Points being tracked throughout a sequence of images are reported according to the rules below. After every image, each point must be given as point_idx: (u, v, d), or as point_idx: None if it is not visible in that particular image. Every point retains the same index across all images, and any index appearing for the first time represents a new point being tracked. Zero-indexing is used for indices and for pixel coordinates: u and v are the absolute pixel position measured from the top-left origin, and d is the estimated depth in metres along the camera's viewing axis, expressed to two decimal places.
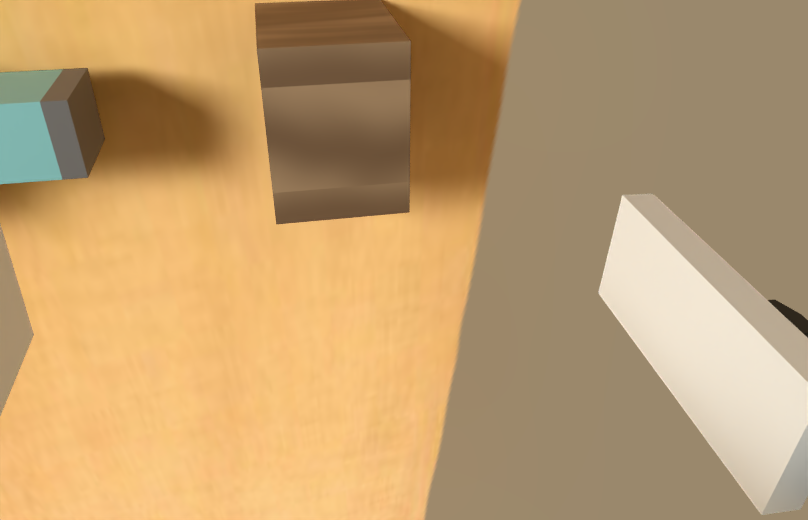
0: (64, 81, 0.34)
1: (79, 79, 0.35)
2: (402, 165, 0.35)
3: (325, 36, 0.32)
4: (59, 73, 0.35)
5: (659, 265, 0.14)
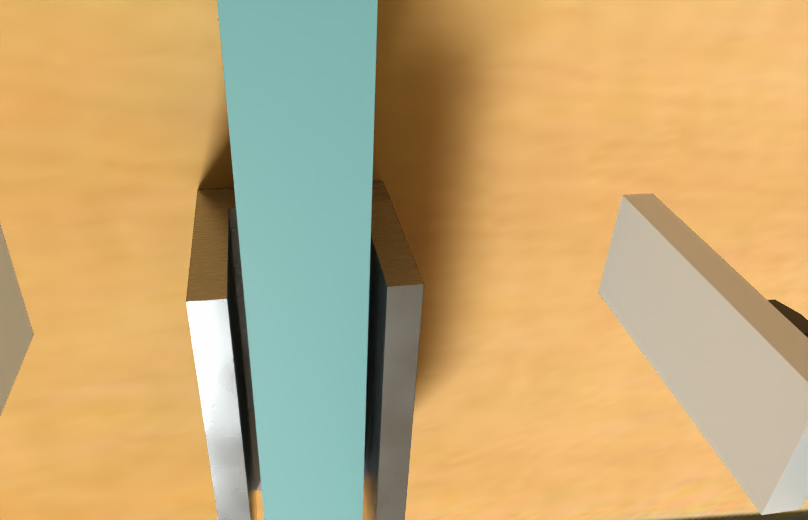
0: None
1: None
2: None
3: None
4: None
5: (659, 265, 0.14)
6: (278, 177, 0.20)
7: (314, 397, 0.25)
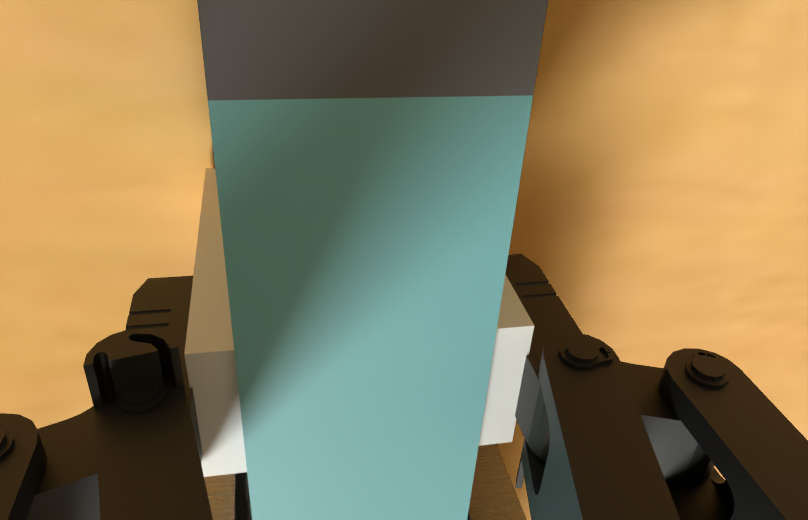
0: None
1: None
2: None
3: None
4: None
5: None
6: (322, 449, 0.11)
7: None
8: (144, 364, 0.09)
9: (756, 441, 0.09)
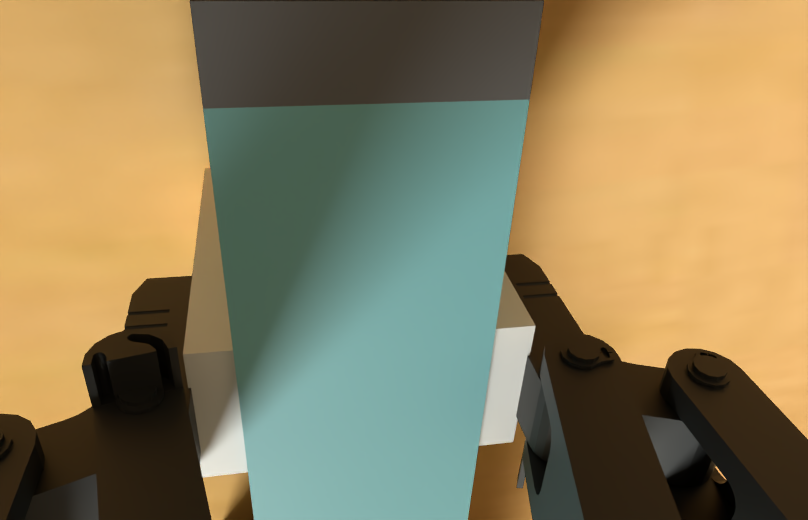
0: None
1: None
2: None
3: None
4: None
5: None
6: (323, 450, 0.11)
7: None
8: (143, 364, 0.09)
9: (757, 441, 0.09)
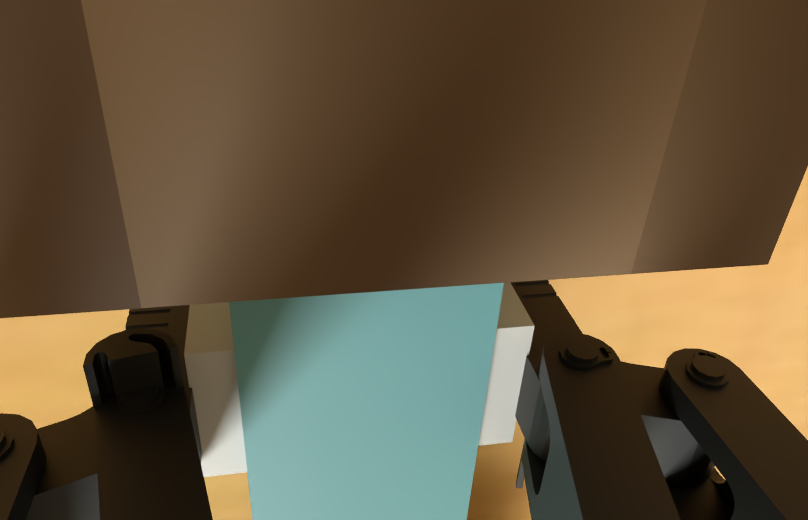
0: None
1: None
2: None
3: None
4: None
5: None
6: (322, 450, 0.12)
7: None
8: (144, 364, 0.09)
9: (756, 441, 0.09)
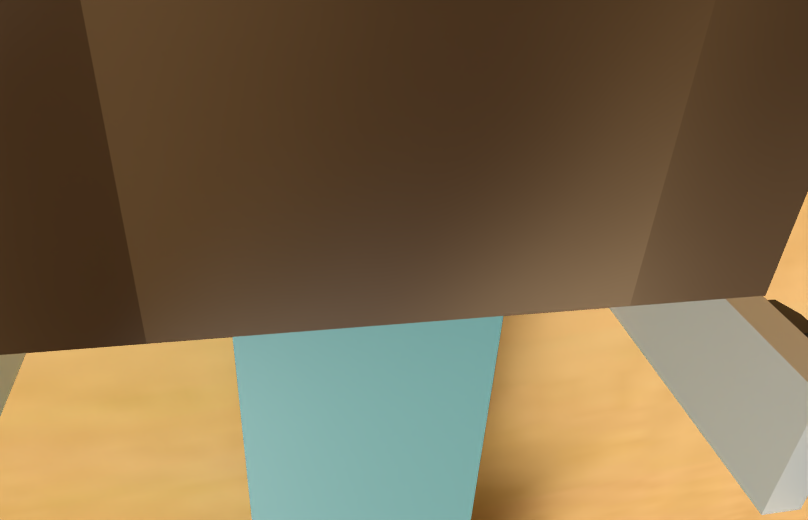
0: None
1: None
2: None
3: None
4: None
5: None
6: (324, 467, 0.11)
7: None
8: None
9: None
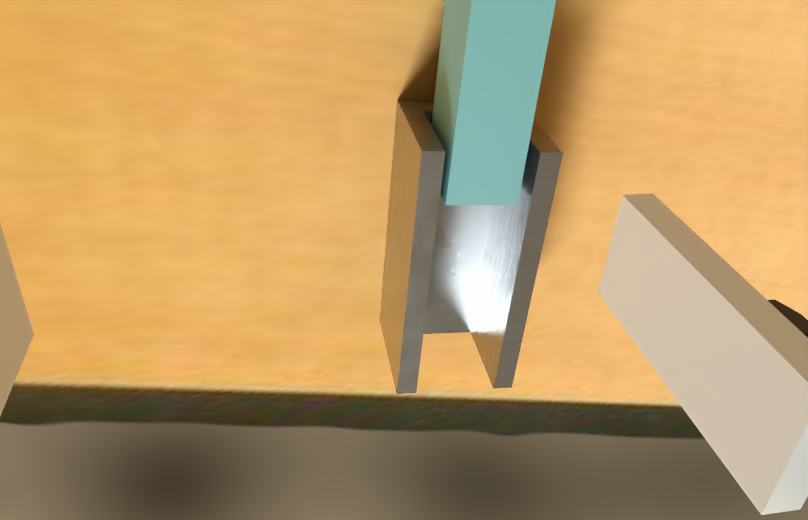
0: None
1: None
2: None
3: None
4: None
5: (659, 265, 0.14)
6: None
7: (515, 10, 0.31)
8: None
9: None
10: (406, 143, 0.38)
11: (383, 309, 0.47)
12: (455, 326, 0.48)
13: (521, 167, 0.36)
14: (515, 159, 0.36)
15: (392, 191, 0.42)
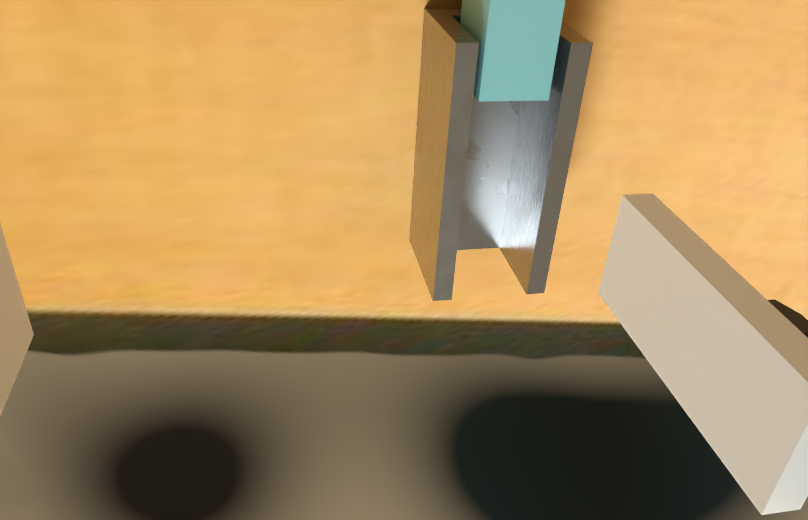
0: None
1: None
2: None
3: None
4: None
5: (659, 266, 0.14)
6: None
7: None
8: None
9: None
10: (437, 45, 0.38)
11: (413, 226, 0.48)
12: (484, 241, 0.49)
13: (552, 60, 0.37)
14: (546, 52, 0.36)
15: (421, 102, 0.43)
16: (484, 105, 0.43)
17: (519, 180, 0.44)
